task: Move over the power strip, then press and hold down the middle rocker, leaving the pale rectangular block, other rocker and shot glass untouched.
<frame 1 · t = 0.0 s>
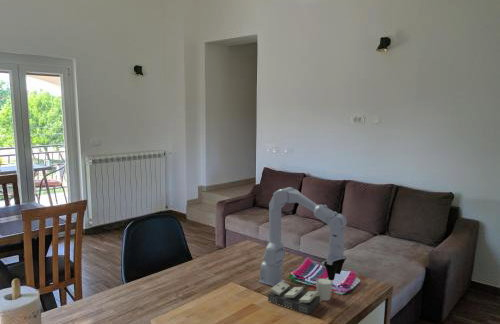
hand: (334, 276, 150), 10 cm above the counter, fingers open, 7 cm apart
rocker 2: (294, 292, 148), point 4 cm above the counter, hinge at -15.0°
rocker 3: (309, 296, 144), point 4 cm above the counter, hinge at -15.0°
shot glass: (323, 297, 154), on the counter
pale rectangular block 1: (280, 287, 151), point 4 cm above the counter, hinge at 15.0°
power strip: (293, 302, 148), on the counter
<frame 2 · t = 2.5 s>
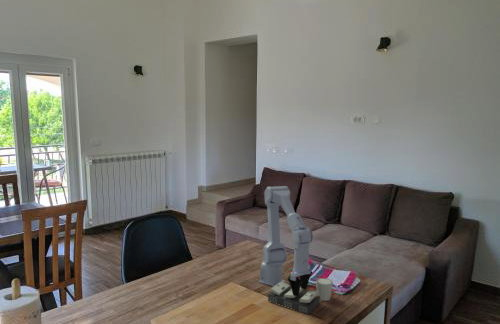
hand: (299, 291, 147), 5 cm above the counter
rocker 2: (294, 292, 148), point 4 cm above the counter, hinge at -13.8°, touching gripper
everything else where it was.
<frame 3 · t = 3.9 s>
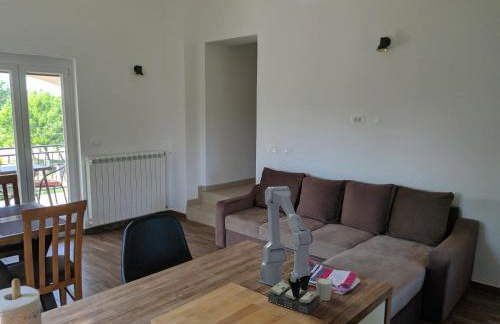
hand: (299, 293, 146), 5 cm above the counter
rocker 2: (294, 292, 148), point 4 cm above the counter, hinge at 9.6°, touching gripper
everything else where it was.
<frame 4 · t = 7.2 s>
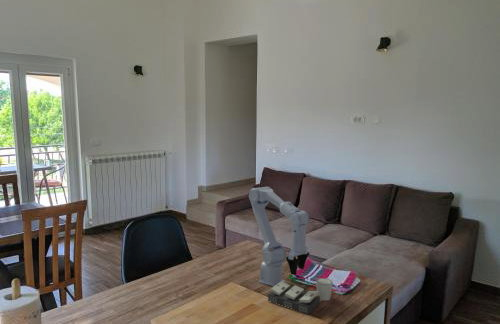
hand: (297, 271, 155), 10 cm above the counter, fingers open, 7 cm apart
rocker 2: (294, 292, 148), point 4 cm above the counter, hinge at 9.8°
everything else where it was.
at the end: rocker 2 at +10° (first picture: -15°); pale rectangular block 1 at +15° (first picture: +15°); rocker 3 at -15° (first picture: -15°) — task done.
